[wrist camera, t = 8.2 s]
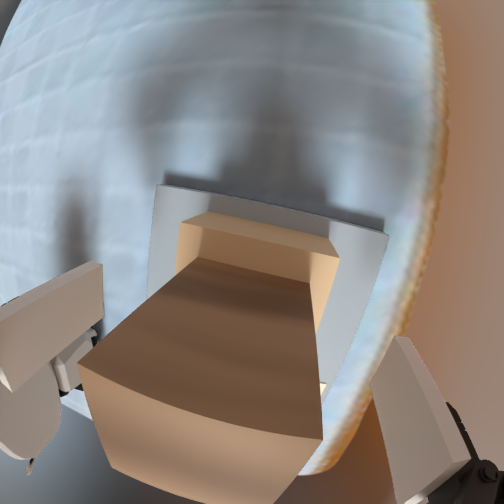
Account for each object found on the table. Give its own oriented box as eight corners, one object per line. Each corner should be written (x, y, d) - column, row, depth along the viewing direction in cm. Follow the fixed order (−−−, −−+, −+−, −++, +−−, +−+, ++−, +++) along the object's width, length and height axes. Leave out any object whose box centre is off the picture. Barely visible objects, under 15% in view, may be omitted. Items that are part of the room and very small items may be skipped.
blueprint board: (165, 184, 17) (118, 188, 12) (383, 231, 16) (417, 254, 11) (154, 402, 22) (131, 439, 17) (297, 439, 21) (294, 483, 16)
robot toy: (68, 263, 20) (-71, 337, 5) (106, 279, 19) (-45, 382, 5) (78, 366, 23) (-4, 451, 9) (111, 385, 23) (31, 484, 9)
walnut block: (197, 256, 12) (76, 362, 4) (309, 283, 12) (323, 439, 4) (187, 346, 13) (111, 467, 6) (281, 371, 13) (262, 514, 5)
